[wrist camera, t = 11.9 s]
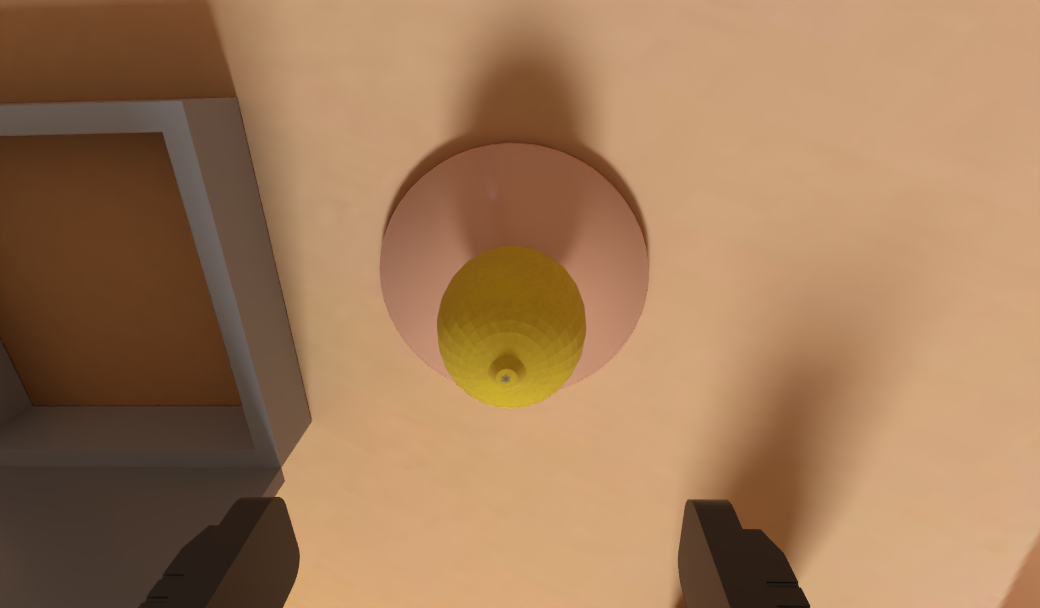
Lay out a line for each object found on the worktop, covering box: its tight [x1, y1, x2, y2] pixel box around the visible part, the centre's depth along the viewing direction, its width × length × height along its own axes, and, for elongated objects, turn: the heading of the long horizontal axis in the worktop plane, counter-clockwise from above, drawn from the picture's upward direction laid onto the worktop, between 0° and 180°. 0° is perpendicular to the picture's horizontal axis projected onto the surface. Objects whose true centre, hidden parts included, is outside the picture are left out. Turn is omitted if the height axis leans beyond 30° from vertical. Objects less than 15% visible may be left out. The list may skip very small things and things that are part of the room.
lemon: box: [437, 245, 586, 408], centre depth 19 cm, size 6×6×8 cm
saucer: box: [380, 142, 649, 390], centre depth 23 cm, size 12×12×1 cm
